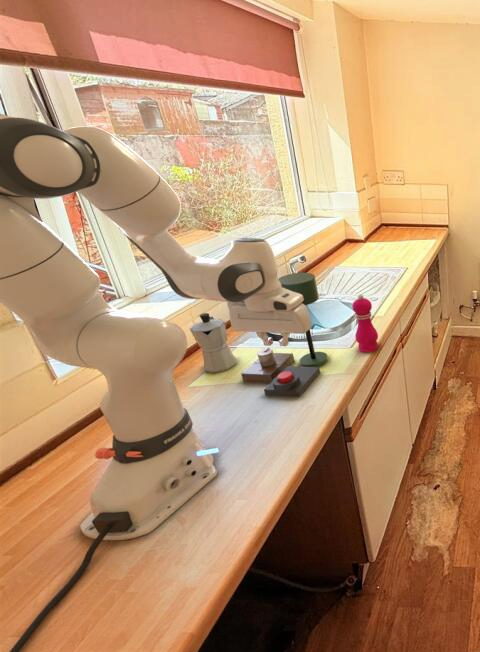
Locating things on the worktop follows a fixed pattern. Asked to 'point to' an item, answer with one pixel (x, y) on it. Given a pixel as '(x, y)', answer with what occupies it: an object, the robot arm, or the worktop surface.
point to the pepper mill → (365, 325)
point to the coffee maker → (213, 344)
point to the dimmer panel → (267, 369)
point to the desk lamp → (308, 289)
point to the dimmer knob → (266, 357)
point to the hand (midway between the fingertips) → (276, 345)
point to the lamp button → (285, 377)
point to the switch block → (293, 382)
